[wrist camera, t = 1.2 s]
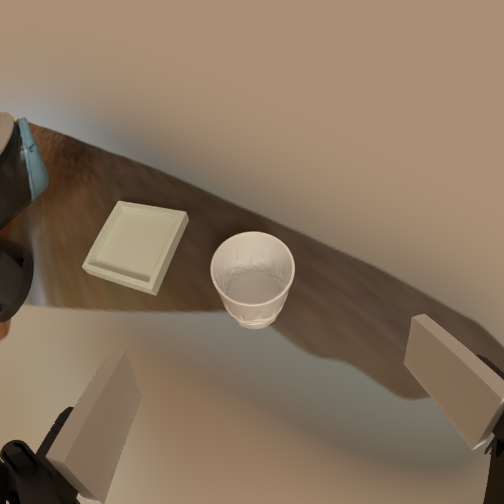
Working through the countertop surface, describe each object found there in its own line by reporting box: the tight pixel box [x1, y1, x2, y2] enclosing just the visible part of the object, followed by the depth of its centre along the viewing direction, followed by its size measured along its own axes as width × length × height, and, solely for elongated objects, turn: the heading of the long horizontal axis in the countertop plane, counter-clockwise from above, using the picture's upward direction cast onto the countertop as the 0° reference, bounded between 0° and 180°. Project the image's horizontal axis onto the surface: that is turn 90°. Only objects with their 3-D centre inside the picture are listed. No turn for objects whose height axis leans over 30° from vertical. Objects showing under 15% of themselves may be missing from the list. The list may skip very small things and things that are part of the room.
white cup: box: [211, 232, 295, 329], centre depth 31 cm, size 8×8×10 cm
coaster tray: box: [82, 201, 189, 296], centre depth 39 cm, size 13×13×2 cm
